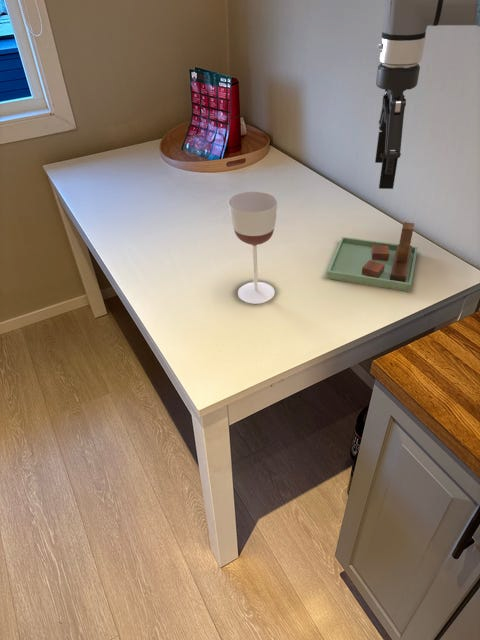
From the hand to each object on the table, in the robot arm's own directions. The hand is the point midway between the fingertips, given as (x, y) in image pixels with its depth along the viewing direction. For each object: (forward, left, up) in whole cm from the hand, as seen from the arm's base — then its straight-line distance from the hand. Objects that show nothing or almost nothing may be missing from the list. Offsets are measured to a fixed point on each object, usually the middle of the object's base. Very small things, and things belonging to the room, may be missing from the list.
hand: (383, 174), depth 103 cm
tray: (0, -3, -24) cm, 25 cm away
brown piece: (-7, -3, -24) cm, 25 cm away
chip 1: (-1, -7, -24) cm, 25 cm away
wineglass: (+24, +16, -25) cm, 38 cm away
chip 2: (-1, +1, -24) cm, 24 cm away
